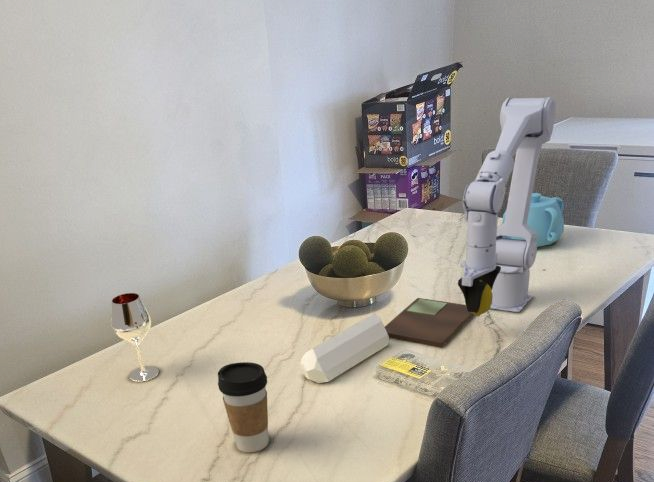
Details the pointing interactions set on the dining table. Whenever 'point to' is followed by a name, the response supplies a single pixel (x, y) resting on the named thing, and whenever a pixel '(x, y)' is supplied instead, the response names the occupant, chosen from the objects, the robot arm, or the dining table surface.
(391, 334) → the board
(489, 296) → the lemon
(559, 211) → the decorative pot
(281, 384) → the dining table surface
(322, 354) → the crystal
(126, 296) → the wineglass
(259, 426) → the coffee cup
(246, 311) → the dining table surface
